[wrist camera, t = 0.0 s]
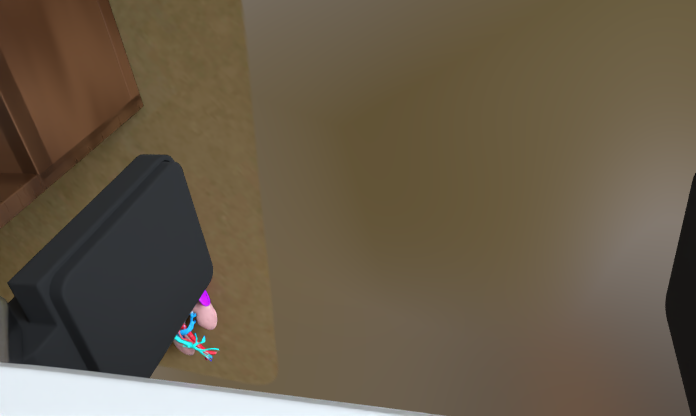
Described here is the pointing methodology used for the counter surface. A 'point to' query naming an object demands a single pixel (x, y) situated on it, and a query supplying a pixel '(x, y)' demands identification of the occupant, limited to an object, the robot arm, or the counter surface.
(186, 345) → the anatomy model
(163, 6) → the counter surface
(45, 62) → the shelf
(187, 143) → the counter surface
